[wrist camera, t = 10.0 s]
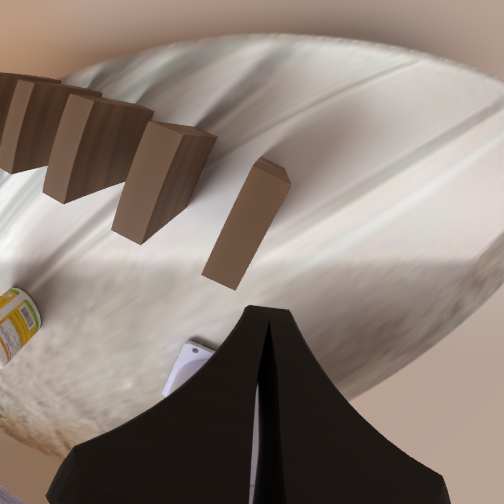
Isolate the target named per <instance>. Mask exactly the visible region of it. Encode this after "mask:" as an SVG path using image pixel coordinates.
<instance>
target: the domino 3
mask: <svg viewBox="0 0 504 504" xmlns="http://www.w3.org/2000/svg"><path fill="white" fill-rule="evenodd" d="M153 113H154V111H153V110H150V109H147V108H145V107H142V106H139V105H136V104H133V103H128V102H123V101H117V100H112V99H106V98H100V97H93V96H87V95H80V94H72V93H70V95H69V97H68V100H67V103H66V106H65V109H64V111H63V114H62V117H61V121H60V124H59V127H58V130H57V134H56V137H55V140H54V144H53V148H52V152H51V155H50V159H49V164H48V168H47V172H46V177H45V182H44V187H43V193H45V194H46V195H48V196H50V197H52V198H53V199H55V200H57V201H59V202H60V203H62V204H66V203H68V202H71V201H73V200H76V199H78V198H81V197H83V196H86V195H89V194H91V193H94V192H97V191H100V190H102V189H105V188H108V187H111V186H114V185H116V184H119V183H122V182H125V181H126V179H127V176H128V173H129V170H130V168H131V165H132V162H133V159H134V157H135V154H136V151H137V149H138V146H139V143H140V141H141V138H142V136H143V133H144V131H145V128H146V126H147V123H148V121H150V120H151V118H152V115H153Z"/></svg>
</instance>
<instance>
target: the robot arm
mask: <svg viewBox="0 0 504 504" xmlns="http://www.w3.org/2000/svg"><path fill="white" fill-rule="evenodd" d="M194 348H196V349H198V350H195V349H194ZM162 394H163V395H164V396H165V397H166V398H164V399H163V400H162V401H160V402H159V403H157V404H156V405H154V406H153V407H151V408H150V409H148V410H147V411H145V412H143V413H142V414H140V415H138V416H137V417H135V418H133V419H132V420H130V421H128V422H126V423H125V424H123V425H121V426H119V427H117V428H115V429H113V430H111V431H109V432H107V433H104V434H102V435H100V436H98V437H95V438H93V439H91V440H88V441H86V442H84V443H81V444H78V445H76V446H74V447H73V449H72V450H71V451H70V453H69V454H68V456H67V457H66V458H65V460H64V461H63V463H62V464H61V466H60V467H59V469H58V471H57V474H56V475H55V477H54V479H53V481H52V483H51V485H50V488H49V490H48V492H47V494H46V498H47V500H48V501H49V503H50V504H451V502H450V498H449V494H448V490H447V487H446V484H445V481H444V479H443V477H442V475H440V474H438V473H436V472H435V471H433V470H431V469H430V468H428V467H426V466H424V465H423V464H421V463H420V462H418V461H417V460H415V459H413V458H411V457H410V456H409V455H407V454H406V453H405V452H403V451H402V450H401V449H399V448H398V447H397V446H395V445H394V444H393V443H391V442H390V441H389V440H387V439H386V438H385V437H384V436H383V435H381V434H380V433H379V432H378V431H377V430H376V429H375V428H374V427H372V425H370V424H369V423H368V422H367V421H366V420H365V419H364V418H363V417H362V416H361V415H360V414H359V413H358V412H357V411H356V410H355V409H354V408H353V407H352V406H351V405H350V404H349V403H348V401H347V400H346V399H345V398H344V397H343V395H342V394H341V393H340V392H339V391H338V389H337V388H336V387H335V386H334V384H333V383H332V382H331V380H330V379H329V378H328V376H327V375H326V373H325V372H324V370H323V369H322V368H321V366H320V365H319V363H318V362H317V360H316V358H315V357H314V355H313V353H312V352H311V350H310V348H309V347H308V345H307V343H306V342H305V340H304V338H303V336H302V334H301V332H300V330H299V328H298V326H297V324H296V322H295V320H294V318H293V316H292V313H291V312H290V311H289V310H286V309H278V308H269V307H261V306H253V305H248V306H247V307H245V309H244V312H243V314H242V316H241V318H240V319H239V321H238V323H237V324H236V326H235V327H234V329H233V330H232V332H231V333H230V334H229V336H228V337H227V338H226V340H225V341H224V342H223V343H222V345H221V346H220V347H219V348H218V349H217V351H213V350H211V349H209V348H207V347H204V346H202V345H200V344H197V343H195V342H193V341H186V342H185V343H184V346H183V348H182V350H181V352H180V354H179V356H178V359H177V361H176V363H175V365H174V367H173V369H172V372H171V374H170V376H169V378H168V380H167V383H166V385H165V387H164V389H163V392H162ZM0 504H26V503H25V502H23V501H22V500H20V499H19V498H17V497H16V496H14V495H13V494H12V493H10V492H9V491H8V490H6V489H5V488H4V487H2V486H1V485H0Z"/></svg>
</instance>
